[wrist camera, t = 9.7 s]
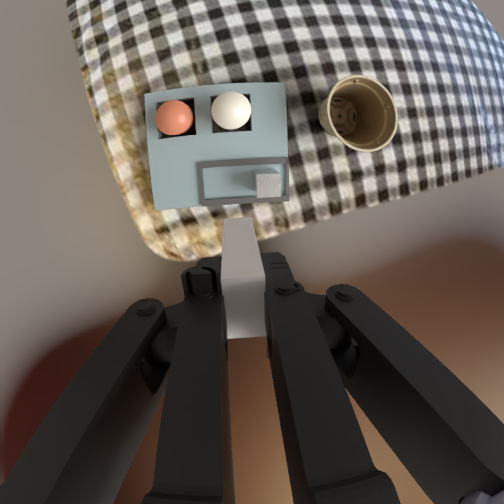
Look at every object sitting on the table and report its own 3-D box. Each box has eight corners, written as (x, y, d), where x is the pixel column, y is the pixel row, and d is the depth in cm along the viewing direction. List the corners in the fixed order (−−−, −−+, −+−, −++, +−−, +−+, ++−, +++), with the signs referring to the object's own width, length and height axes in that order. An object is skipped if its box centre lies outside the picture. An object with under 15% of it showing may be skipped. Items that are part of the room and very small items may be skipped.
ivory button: (212, 97, 30) (210, 93, 26) (248, 95, 30) (250, 90, 27) (214, 130, 32) (212, 130, 28) (249, 128, 32) (252, 127, 28)
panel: (149, 96, 31) (143, 93, 28) (281, 85, 32) (286, 82, 29) (159, 205, 38) (154, 211, 35) (284, 196, 39) (288, 201, 36)
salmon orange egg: (161, 105, 32) (154, 102, 28) (193, 101, 32) (189, 97, 28) (163, 136, 33) (156, 137, 30) (195, 132, 34) (191, 132, 30)
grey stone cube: (253, 169, 34) (256, 174, 31) (275, 169, 34) (280, 173, 31) (254, 190, 35) (257, 197, 32) (275, 190, 36) (280, 196, 32)
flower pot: (294, 98, 33) (312, 89, 25) (349, 77, 32) (378, 66, 24) (324, 157, 37) (348, 164, 29) (375, 133, 35) (407, 136, 28)
